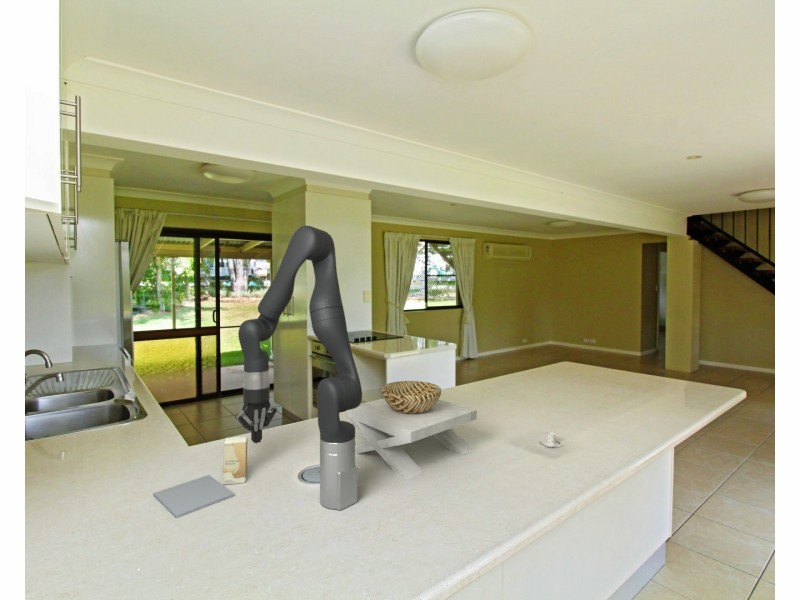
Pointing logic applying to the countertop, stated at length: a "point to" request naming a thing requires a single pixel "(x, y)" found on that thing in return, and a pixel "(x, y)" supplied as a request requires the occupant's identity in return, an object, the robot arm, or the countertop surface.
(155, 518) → the countertop surface
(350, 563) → the countertop surface
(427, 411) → the wicker basket on stand
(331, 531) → the countertop surface
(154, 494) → the mat
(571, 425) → the countertop surface
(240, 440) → the skincare box
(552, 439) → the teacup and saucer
